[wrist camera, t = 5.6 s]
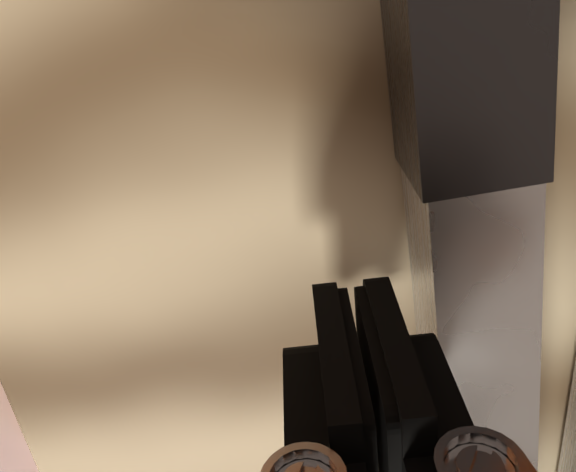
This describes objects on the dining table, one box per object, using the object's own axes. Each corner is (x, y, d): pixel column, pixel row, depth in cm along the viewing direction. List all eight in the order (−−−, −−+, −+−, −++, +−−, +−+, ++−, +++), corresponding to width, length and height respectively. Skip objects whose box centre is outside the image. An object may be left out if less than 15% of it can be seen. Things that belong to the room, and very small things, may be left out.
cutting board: (685, 601, 20) (695, 615, 19) (120, 639, 21) (116, 654, 20) (984, -234, 9) (1017, -244, 9) (-181, -91, 10) (-202, -95, 10)
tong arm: (569, 626, 19) (617, 735, 16) (441, 640, 20) (467, 749, 17) (633, -169, 9) (782, -229, 6) (369, -115, 10) (402, -148, 7)
